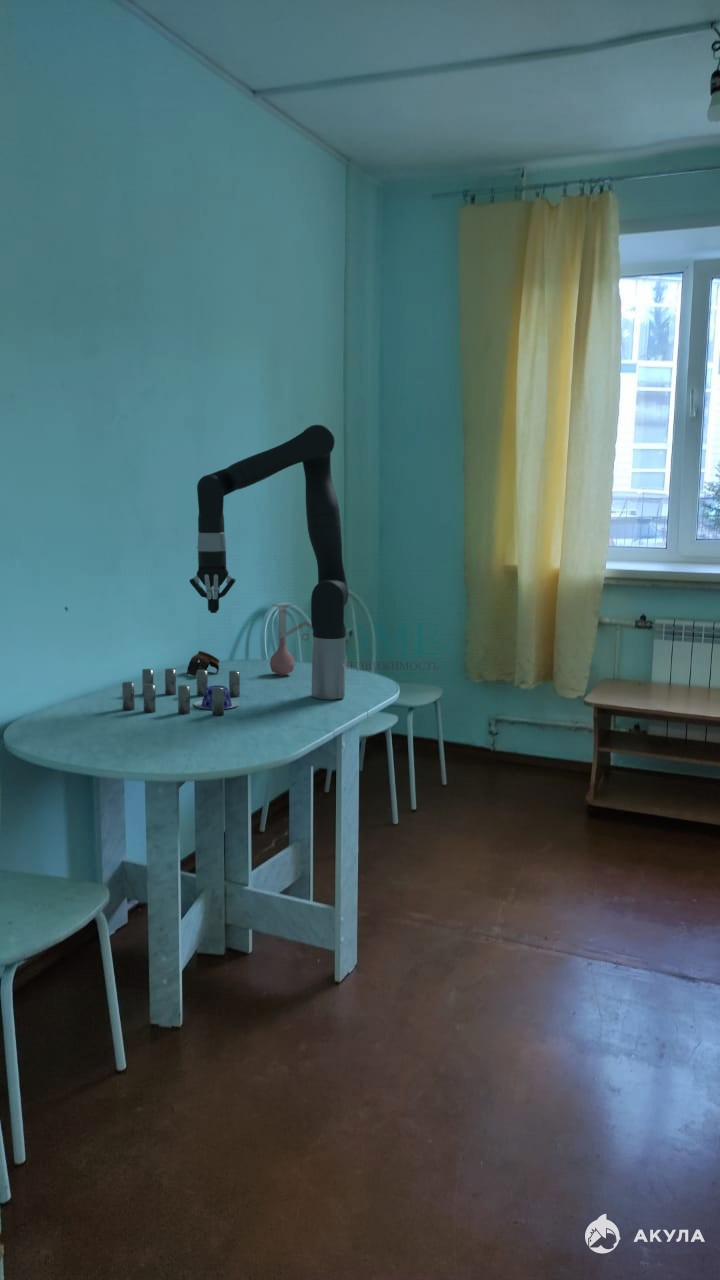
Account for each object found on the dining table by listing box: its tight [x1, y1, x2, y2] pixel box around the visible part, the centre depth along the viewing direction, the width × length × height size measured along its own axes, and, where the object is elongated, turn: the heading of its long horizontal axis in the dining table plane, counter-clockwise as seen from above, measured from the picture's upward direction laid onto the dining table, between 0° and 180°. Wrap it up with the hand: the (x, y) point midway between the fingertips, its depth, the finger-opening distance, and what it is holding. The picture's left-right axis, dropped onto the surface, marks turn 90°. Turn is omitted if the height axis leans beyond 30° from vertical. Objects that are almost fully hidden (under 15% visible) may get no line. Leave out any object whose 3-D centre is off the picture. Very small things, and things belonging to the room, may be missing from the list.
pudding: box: [193, 685, 240, 710], centre depth 248 cm, size 12×12×5 cm
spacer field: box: [121, 668, 241, 717], centre depth 249 cm, size 27×25×7 cm
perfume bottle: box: [269, 636, 295, 677], centre depth 290 cm, size 8×8×12 cm
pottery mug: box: [186, 650, 220, 677], centre depth 288 cm, size 12×10×8 cm
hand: (213, 612), depth 254 cm, fingers closed
